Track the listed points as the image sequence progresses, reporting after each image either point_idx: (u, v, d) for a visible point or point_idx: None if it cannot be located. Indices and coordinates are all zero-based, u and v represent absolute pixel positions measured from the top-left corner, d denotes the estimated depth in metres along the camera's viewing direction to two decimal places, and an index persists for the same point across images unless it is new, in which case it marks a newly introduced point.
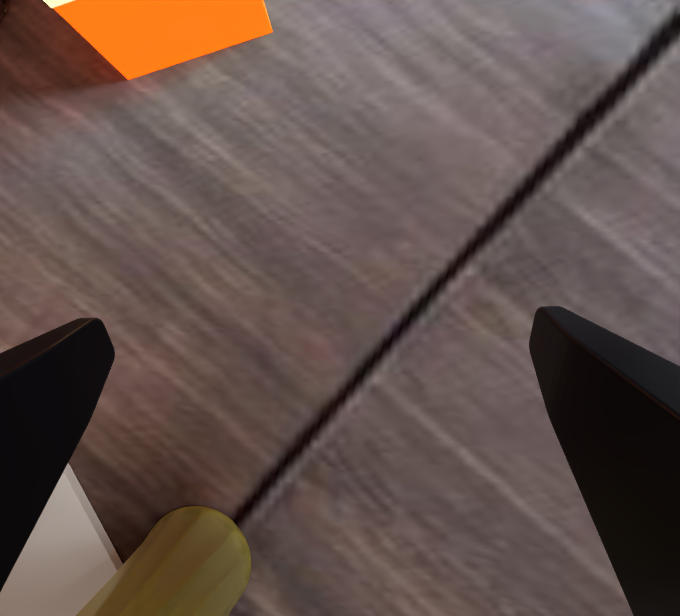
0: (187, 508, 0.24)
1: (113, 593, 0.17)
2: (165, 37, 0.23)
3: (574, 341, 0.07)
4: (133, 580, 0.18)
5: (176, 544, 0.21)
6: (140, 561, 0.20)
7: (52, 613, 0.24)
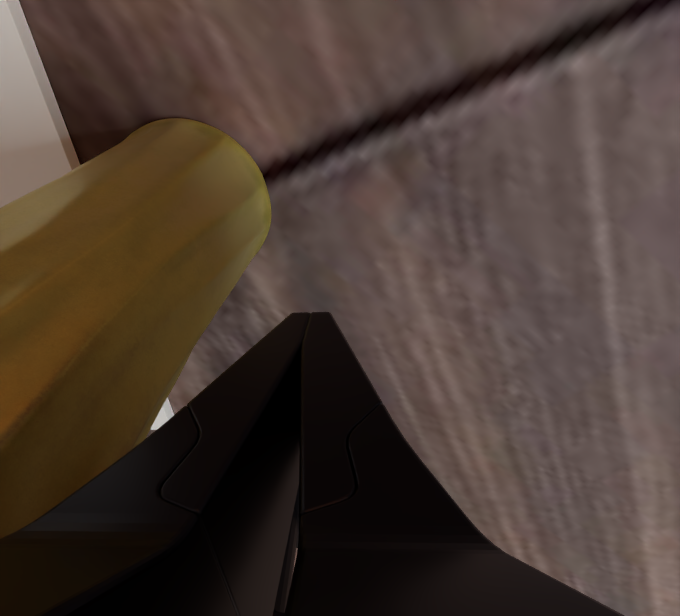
0: (201, 124, 0.15)
1: (92, 190, 0.10)
2: None
3: (300, 346, 0.07)
4: (126, 187, 0.10)
5: (191, 166, 0.13)
6: (134, 163, 0.11)
7: None
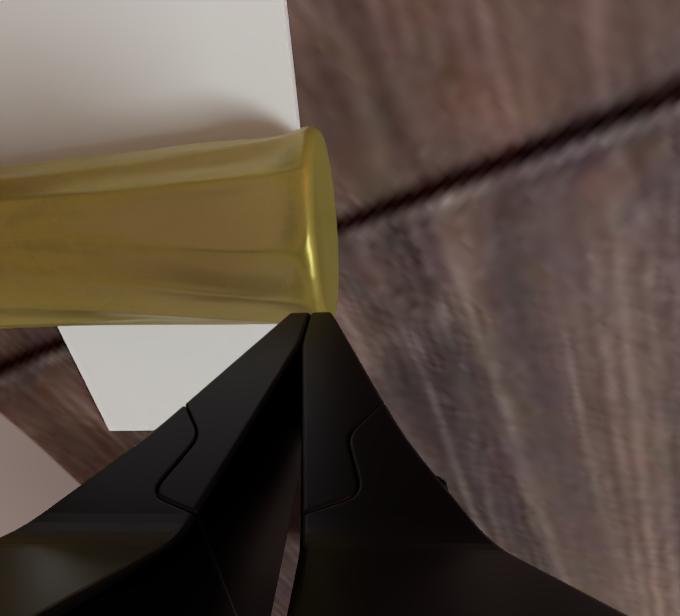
0: (298, 145, 0.11)
1: (71, 170, 0.12)
2: None
3: (301, 346, 0.07)
4: (94, 178, 0.12)
5: (172, 185, 0.11)
6: (142, 162, 0.12)
7: None
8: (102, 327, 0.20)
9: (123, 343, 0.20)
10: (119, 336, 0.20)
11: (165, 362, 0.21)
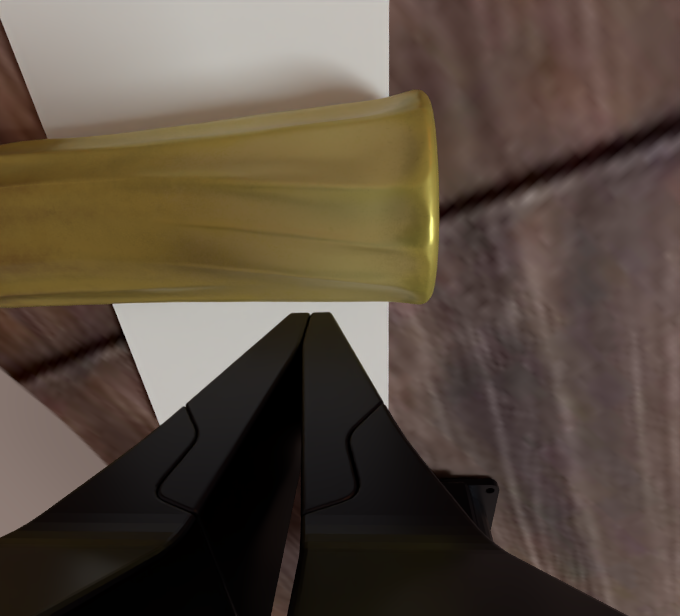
0: (414, 95, 0.11)
1: (176, 126, 0.12)
2: None
3: (301, 346, 0.07)
4: (200, 130, 0.12)
5: (285, 127, 0.11)
6: (249, 118, 0.12)
7: None
8: (165, 323, 0.20)
9: (185, 339, 0.20)
10: (182, 332, 0.20)
11: (226, 358, 0.20)
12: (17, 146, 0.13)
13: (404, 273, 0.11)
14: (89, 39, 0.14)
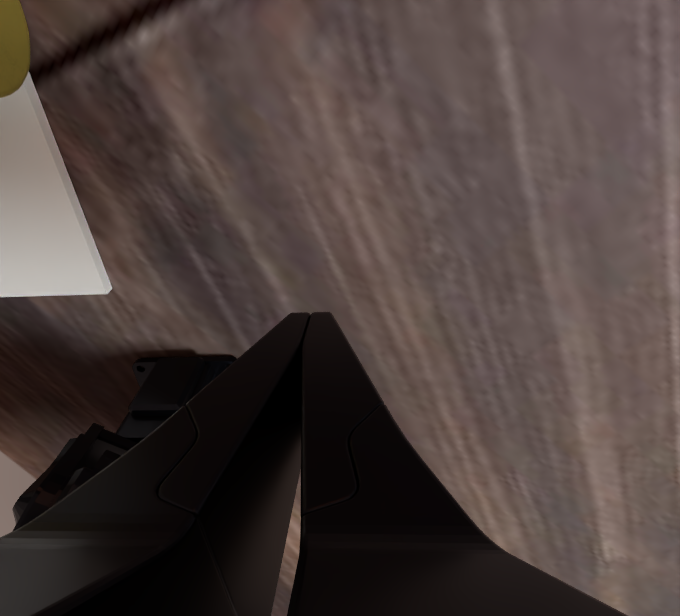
0: None
1: None
2: None
3: (301, 346, 0.07)
4: None
5: None
6: None
7: None
8: None
9: None
10: None
11: None
12: None
13: None
14: None
